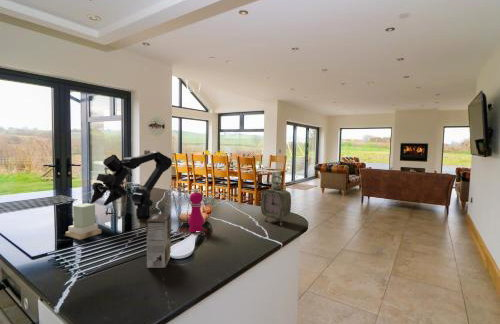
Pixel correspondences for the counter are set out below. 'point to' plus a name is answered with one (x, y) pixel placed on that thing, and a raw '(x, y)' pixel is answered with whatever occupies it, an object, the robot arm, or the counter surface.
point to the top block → (83, 229)
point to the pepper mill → (196, 212)
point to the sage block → (83, 215)
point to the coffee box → (158, 240)
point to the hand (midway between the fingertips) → (98, 203)
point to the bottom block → (82, 236)
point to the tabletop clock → (276, 202)
